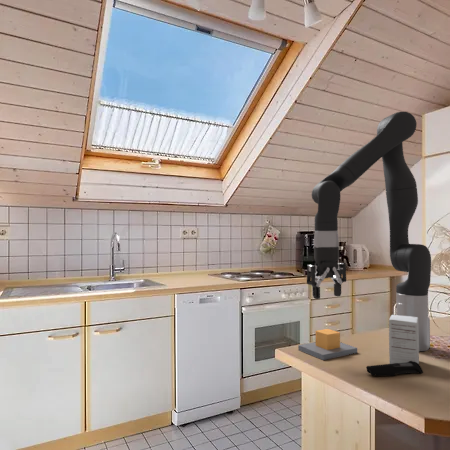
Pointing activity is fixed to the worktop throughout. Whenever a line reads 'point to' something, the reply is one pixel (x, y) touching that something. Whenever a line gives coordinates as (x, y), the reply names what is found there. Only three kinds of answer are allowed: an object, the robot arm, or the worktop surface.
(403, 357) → the supplement box
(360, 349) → the worktop surface
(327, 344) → the orange rounded cube
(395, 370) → the electric trimmer
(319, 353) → the plate
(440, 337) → the worktop surface
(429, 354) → the worktop surface
